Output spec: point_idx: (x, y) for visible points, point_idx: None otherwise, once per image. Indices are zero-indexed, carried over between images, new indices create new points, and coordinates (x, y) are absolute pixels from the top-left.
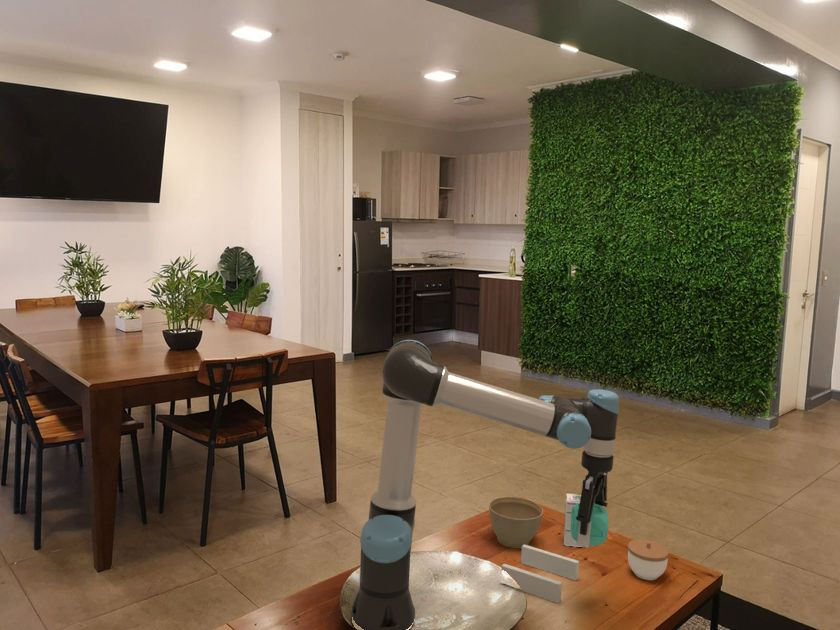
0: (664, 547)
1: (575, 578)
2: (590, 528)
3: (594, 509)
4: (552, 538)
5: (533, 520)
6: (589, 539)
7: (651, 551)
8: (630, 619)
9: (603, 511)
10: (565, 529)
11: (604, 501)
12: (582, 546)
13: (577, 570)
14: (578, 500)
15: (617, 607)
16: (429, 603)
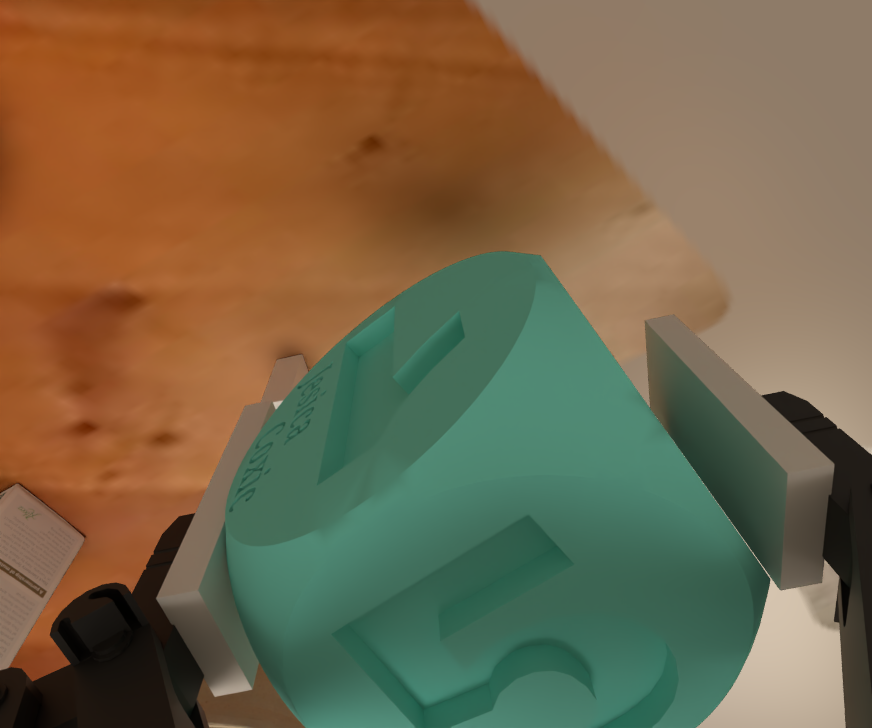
0: None
1: (302, 361)
2: (745, 416)
3: (508, 623)
4: (80, 592)
5: (234, 715)
6: (679, 351)
7: None
8: None
9: (465, 520)
10: (44, 600)
11: (81, 679)
12: (13, 488)
13: (281, 379)
14: None
15: (348, 85)
16: (830, 572)
